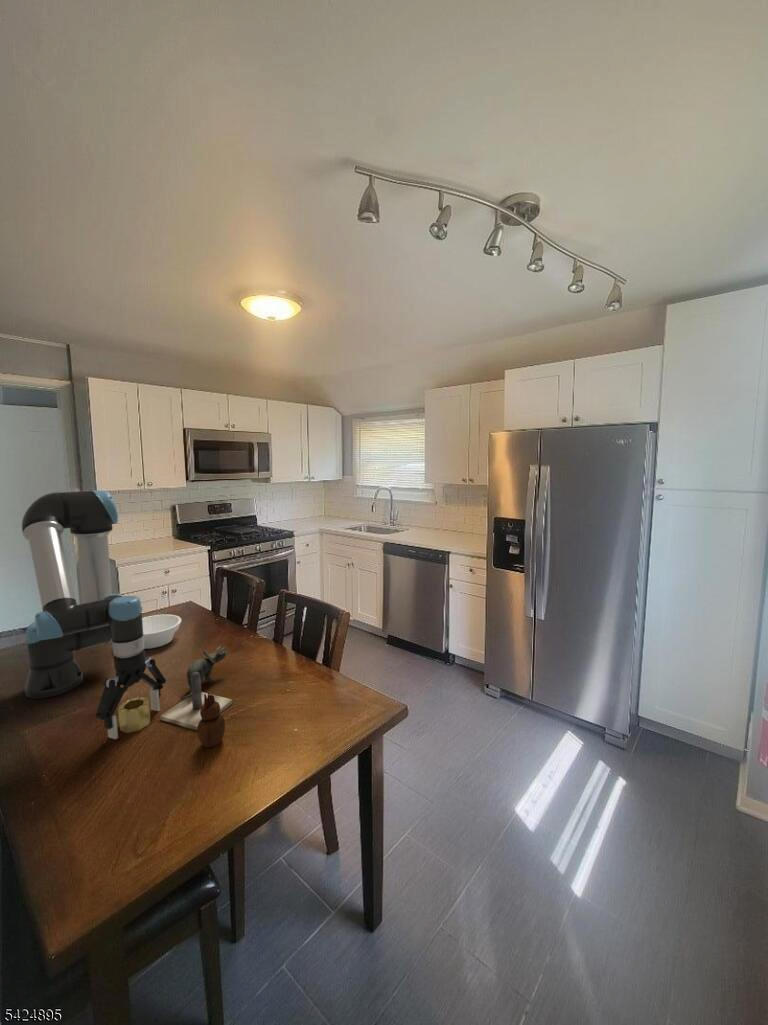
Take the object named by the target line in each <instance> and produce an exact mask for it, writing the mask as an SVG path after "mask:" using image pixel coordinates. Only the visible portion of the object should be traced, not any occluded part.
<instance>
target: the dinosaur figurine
mask: <svg viewBox="0 0 768 1025" xmlns="http://www.w3.org/2000/svg"><path fill="white" fill-rule="evenodd" d="M223 645H224V643H222V644H221V645H220V646H218V647H217V648H216V649H215V651H213V652H212V653H208V652H207V651H206V650H203V651H202V652H203V655H204V656H205V657H202V658H199V659H197V660H195V661H194V662H193V663H191V665H190V666H189V667H188V669H187V670H186V671H187V672H186V676H187V677H186V678H187V683H188V686H189V691H190V692H189V694H188V695H185V696H183V697H182V698H183V699H186V698H189V697H191V696H192V690H191V674H192V673H193V672H199V674H200V680H201V684H203V681H204V680H205V681H206V682H207V683H208V684H209V685H211V684H214V683H215V682H216V681H215V680H214V679H213V678H212V679H211V674H212V671H213V667H214V665H216V664H217V663H219V662H221V661H222V660H225V659H226V658H227V656H228V654H227V652H226V651H227V650H224V649H225V648H226V646H224V647H222V646H223ZM220 648H221V649H220ZM203 679H204V680H203Z"/></svg>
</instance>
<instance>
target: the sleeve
mask: <svg viewBox="0 0 768 1025" xmlns="http://www.w3.org/2000/svg"><path fill="white" fill-rule="evenodd" d="M118 706H119V707H118V710H117V711H118V713H117V714H118V722H119V730H120V732H123V733H127V734H129V733H133V732H137V731H141V730H142V729H144V728H145V727H147V726H148V725H150V723H151V705H150V699H149V698H148V697H143V696H139V697H133V698H129V699H128V700H126V701H124V702H122V703H121V704H120V703H119V705H118Z"/></svg>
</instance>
